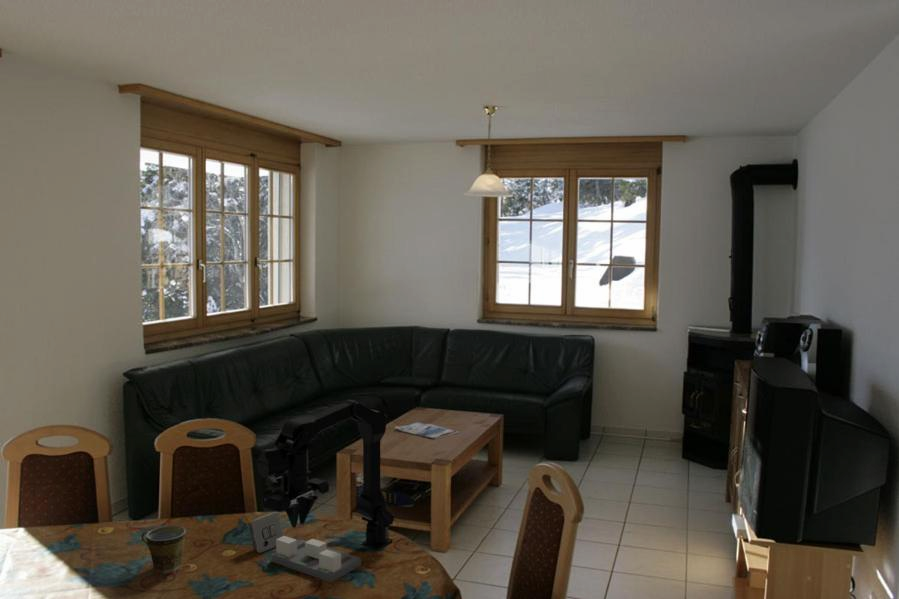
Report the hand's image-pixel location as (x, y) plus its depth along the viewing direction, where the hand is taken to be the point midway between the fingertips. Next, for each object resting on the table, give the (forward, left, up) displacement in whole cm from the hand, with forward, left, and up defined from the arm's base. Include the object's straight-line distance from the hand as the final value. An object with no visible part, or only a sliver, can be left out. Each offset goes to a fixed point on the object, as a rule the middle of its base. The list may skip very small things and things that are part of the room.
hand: (297, 525), depth 202 cm
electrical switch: (-7, -19, -13) cm, 24 cm away
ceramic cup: (+18, -32, -13) cm, 40 cm away
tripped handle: (-7, 0, -11) cm, 12 cm away
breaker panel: (-7, 0, -13) cm, 15 cm away
